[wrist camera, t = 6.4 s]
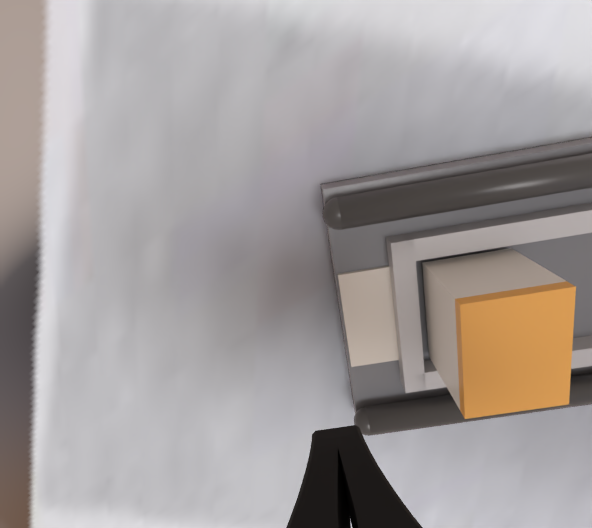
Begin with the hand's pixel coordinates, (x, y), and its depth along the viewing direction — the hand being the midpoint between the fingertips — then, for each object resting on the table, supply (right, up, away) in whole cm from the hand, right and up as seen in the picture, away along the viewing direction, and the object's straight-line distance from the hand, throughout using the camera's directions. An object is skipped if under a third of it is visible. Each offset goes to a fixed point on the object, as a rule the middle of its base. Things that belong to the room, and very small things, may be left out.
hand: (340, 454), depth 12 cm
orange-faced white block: (+7, +4, +7) cm, 11 cm away
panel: (+11, +5, +9) cm, 15 cm away
